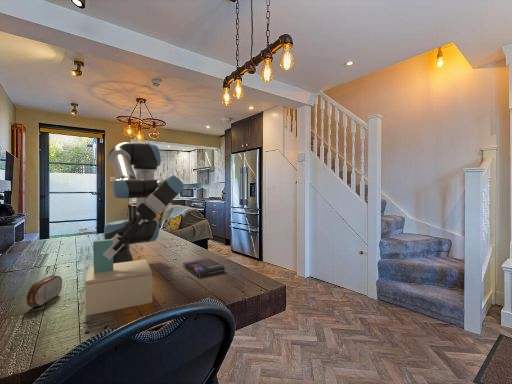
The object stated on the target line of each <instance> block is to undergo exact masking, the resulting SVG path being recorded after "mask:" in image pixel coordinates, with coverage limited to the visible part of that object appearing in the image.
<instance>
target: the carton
mask: <svg viewBox="0 0 512 384" xmlns="http://www.w3.org/2000/svg"><path fill="white" fill-rule="evenodd" d="M84 289H85V292H84V293H85V297H84V298H85V316H86V317H87V316H92V315H97V314H102V313H107V312H112V311H116V310H122V309H127V308H131V307H137V306H142V305H147V304H152V303H153V273H152V274H149V275H142V276H136V277H129V278H123V279H116V280H110V281H103V282H97V283H90V284H85V283H84Z"/></svg>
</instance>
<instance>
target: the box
mask: <svg viewBox="0 0 512 384" xmlns="http://www.w3.org/2000/svg"><path fill="white" fill-rule="evenodd" d="M182 265H183V268H184V270H186V271H188V272H189V273H191V274H192V276H194V277H196V278H198V279H199V278H202V277H203V278H204V277H208V276H213V275H218V274H223V273H225V268H226V267H225V266H224V265H223V264H220V263H218V262H217V261H215V260H213V259H211V258H210V257H208V258H207V257H206V258H202V259H201V258H200V259H197V260H192V261H185V262H182Z"/></svg>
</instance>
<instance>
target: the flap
mask: <svg viewBox="0 0 512 384" xmlns="http://www.w3.org/2000/svg"><path fill="white" fill-rule="evenodd" d="M92 243H93V245H92V246H93V247H92V248H93V253H92V254H93V265H90V266H88V270H87V274H86V277H85V280H84V285H85V284H90V283H97V282H103V281H110V280H116V279H123V278H129V277H136V276H142V275H149V274H152V275H153V271H152V268H151V267H150V264H149V262H148V260H147V259H139V260H133V261H129V262H121V263H114V264H113V257H112V258H111V259H110V260H109V259H108V258H106V257H105V256H104V255H103V254H104V253H105V252H106V251H107V250H108V249H109V248H110V247H111V246H112V245H113V239H108V240H104V239H99V240H93V242H92Z"/></svg>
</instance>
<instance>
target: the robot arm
mask: <svg viewBox="0 0 512 384" xmlns="http://www.w3.org/2000/svg"><path fill="white" fill-rule="evenodd" d="M161 157H162V156H161V153H160V150H159V147H158V145H156V144H151V143H141V142H130V141H129V142H128V141H127V142H121V143H118V144H116V145H115V146H112V148H111V149H110V150H109V152H108V157H107V158H108V162H109V164H110V165H111V166H112V169H113V172H114V177H115V179H114V180H113V181H112V192H113V193H112V194H113V197H114V198H116V199H124V200H125V199H136V208H135V211H136V214H134V216H133V217H132V219H131V220H130V221H129V219H123V220H115V221H110V222H108V223H106V224H104V228H103V231H104V232H103V235H104V237H103V238H104V239H103V240H108V239H113V245H112V246H111V247H110V248H109V249H108V250H107V251H106V252H105V253H104V254H103V255H104V256H105V257H106V258H108V259H109V260H110V259H111V258H112V257H113V264H114V263H121V262H129V261H134V258H133V256H132V252H131V251H130V245H134V244H136V245H137V244H144V243H150V242H155V241H157V239H158V237H159V234H160V221H158V220H157V217H158V215H159V214H161V212H164V211H165V210H166V209H165V208H166V207H167V206H169V204H171V202H172V201H173V200H175V198H176V197H177V196H178V195H180V194H181V192H182V191H183V189H184V188H185V184H184V182H183V181H182V180H181V179H180V178H178V177H177V176H176V175H175V174H169V175H168V177H165V179H164V178H156V179H155V177H154V176H155V172H156V171H157V170H158V167H160V166H161V162H162V161H161V160H162V159H161ZM132 166H133V167H132ZM135 172H136V175H135ZM157 214H158V215H157Z"/></svg>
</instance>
